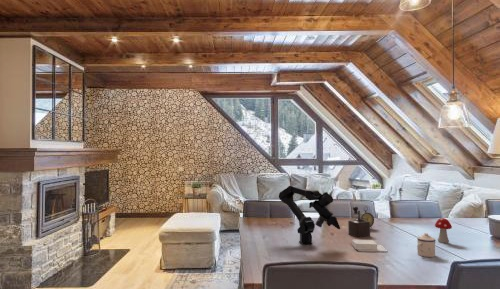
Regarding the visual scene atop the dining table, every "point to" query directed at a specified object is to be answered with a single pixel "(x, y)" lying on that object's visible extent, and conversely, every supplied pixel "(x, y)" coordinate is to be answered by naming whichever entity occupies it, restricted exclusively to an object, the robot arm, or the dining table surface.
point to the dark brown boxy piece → (358, 226)
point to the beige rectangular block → (364, 244)
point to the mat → (379, 249)
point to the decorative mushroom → (443, 230)
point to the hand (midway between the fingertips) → (339, 229)
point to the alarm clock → (367, 217)
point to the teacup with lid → (426, 245)
